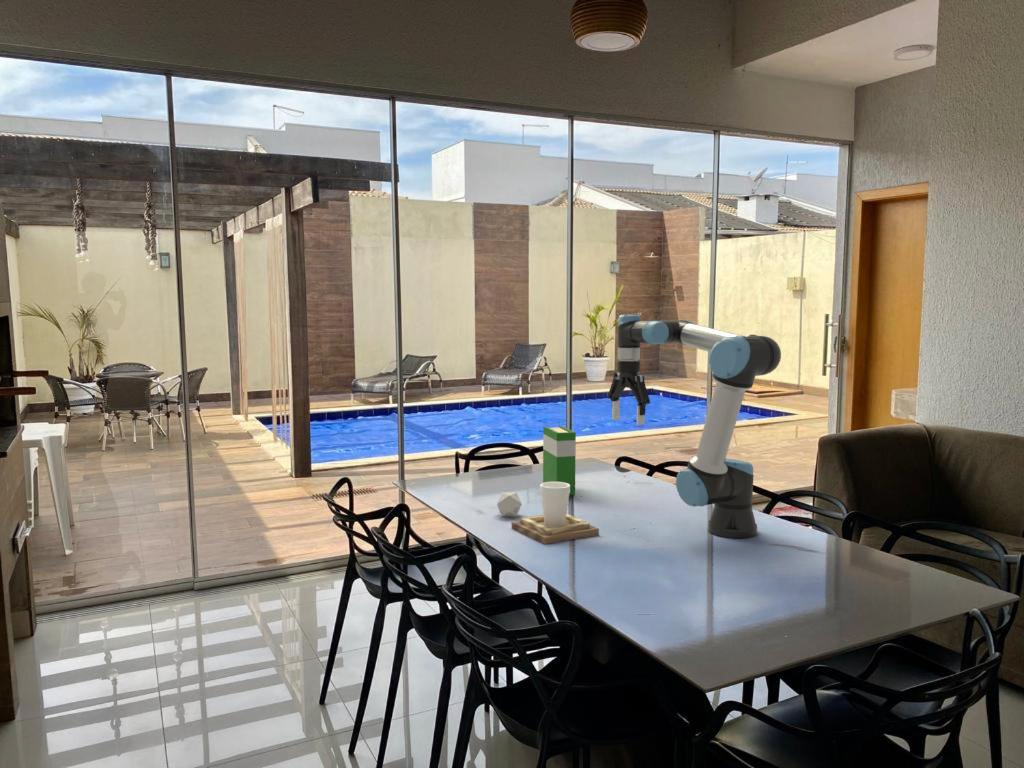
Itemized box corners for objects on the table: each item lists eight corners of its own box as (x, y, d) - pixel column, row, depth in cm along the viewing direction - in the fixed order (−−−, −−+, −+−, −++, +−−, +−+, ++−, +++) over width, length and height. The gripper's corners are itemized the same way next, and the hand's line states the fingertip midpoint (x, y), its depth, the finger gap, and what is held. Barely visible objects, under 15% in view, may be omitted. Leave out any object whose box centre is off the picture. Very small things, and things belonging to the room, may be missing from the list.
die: (512, 522, 268) (527, 497, 270) (490, 508, 269) (505, 484, 271) (512, 524, 276) (526, 500, 278) (491, 511, 277) (505, 487, 279)
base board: (598, 534, 251) (598, 523, 251) (544, 544, 241) (544, 532, 241) (563, 519, 268) (563, 509, 268) (511, 528, 258) (511, 517, 258)
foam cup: (570, 521, 259) (570, 482, 257) (569, 529, 250) (569, 488, 248) (540, 520, 260) (541, 481, 258) (538, 528, 250) (539, 487, 249)
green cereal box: (543, 486, 319) (543, 426, 316) (560, 485, 320) (561, 425, 318) (556, 496, 302) (556, 433, 299) (575, 495, 303) (575, 432, 301)
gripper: (661, 362, 263) (660, 426, 265) (615, 357, 285) (614, 416, 287) (643, 362, 260) (642, 427, 262) (598, 358, 281) (597, 418, 283)
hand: (627, 422), depth 274 cm, fingers open, 13 cm apart
